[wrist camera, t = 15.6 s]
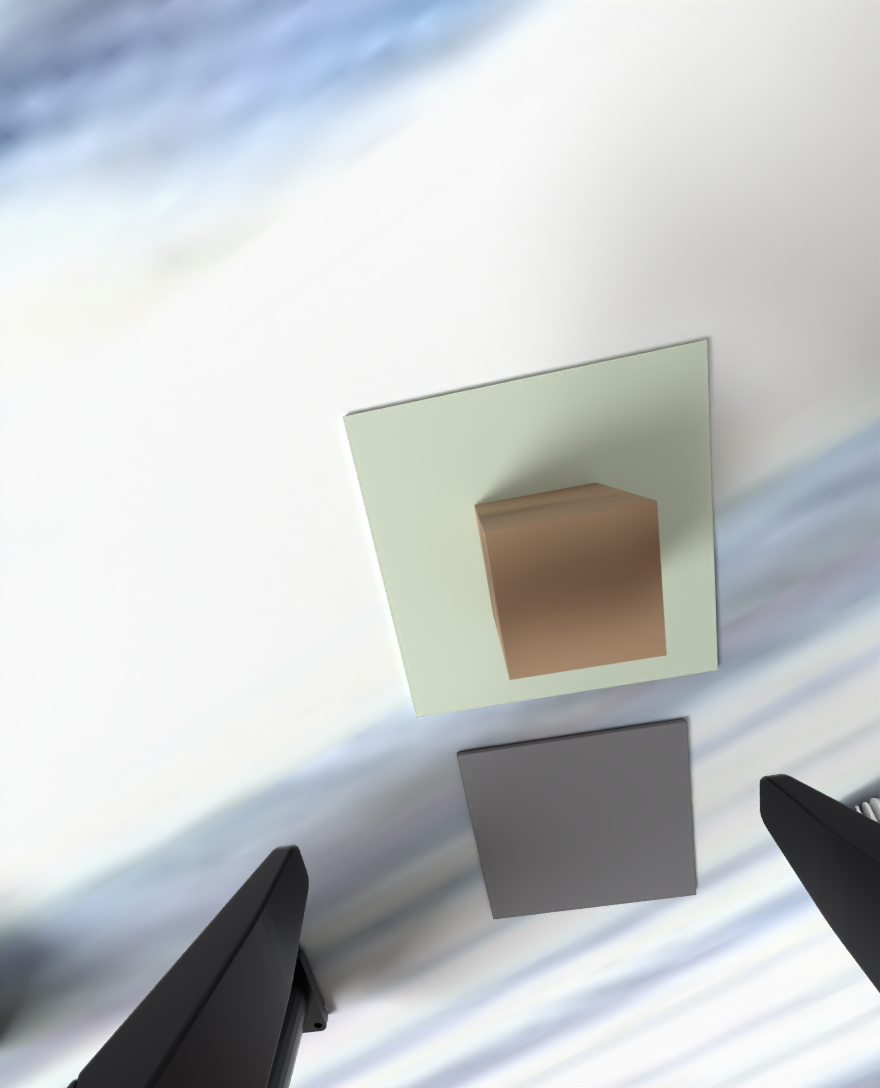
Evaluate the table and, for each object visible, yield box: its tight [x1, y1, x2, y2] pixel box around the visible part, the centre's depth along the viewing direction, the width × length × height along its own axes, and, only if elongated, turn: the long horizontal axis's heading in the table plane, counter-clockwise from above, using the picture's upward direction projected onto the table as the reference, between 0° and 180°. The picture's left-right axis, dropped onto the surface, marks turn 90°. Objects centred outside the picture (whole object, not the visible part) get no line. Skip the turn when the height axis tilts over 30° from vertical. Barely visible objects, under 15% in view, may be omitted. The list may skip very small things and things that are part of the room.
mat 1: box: [343, 340, 718, 717], centre depth 17 cm, size 14×14×1 cm
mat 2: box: [457, 719, 696, 919], centre depth 21 cm, size 11×11×1 cm
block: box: [474, 483, 667, 680], centre depth 15 cm, size 5×5×5 cm
